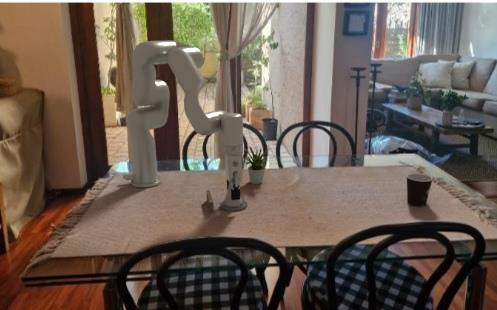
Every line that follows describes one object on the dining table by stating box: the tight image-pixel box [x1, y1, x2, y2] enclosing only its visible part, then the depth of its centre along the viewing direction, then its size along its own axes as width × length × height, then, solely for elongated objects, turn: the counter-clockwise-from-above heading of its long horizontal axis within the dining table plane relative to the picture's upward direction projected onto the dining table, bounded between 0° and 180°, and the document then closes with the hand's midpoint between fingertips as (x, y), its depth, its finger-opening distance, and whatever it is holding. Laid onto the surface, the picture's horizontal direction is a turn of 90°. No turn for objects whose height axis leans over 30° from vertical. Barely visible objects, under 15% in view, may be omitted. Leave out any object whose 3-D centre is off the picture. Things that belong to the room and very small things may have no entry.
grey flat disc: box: [219, 199, 248, 212], centre depth 154 cm, size 10×10×1 cm
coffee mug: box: [406, 172, 433, 208], centre depth 154 cm, size 12×9×10 cm
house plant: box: [243, 144, 272, 185], centre depth 176 cm, size 14×14×16 cm
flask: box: [223, 180, 243, 207], centre depth 153 cm, size 7×7×10 cm
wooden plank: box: [206, 189, 215, 214], centre depth 153 cm, size 1×12×4 cm, turn 11°
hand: (233, 194), depth 153 cm, fingers open, 9 cm apart
